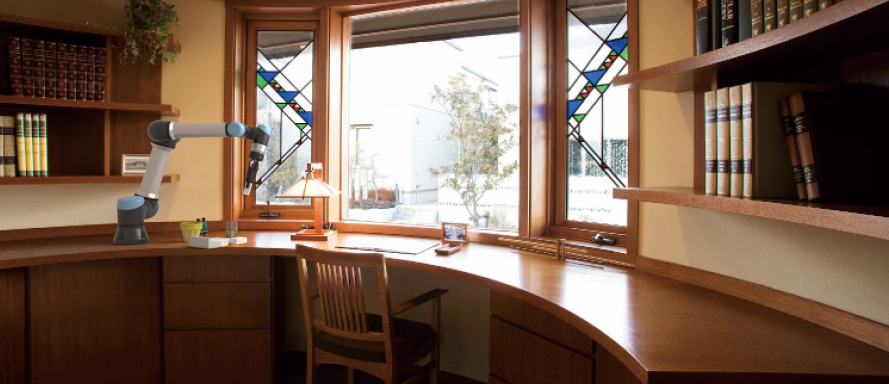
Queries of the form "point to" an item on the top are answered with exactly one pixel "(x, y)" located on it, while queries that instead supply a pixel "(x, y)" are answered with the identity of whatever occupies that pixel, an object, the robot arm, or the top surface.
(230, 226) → the walnut block
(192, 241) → the trap board
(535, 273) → the top surface
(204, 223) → the binoculars
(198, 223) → the plant pot
